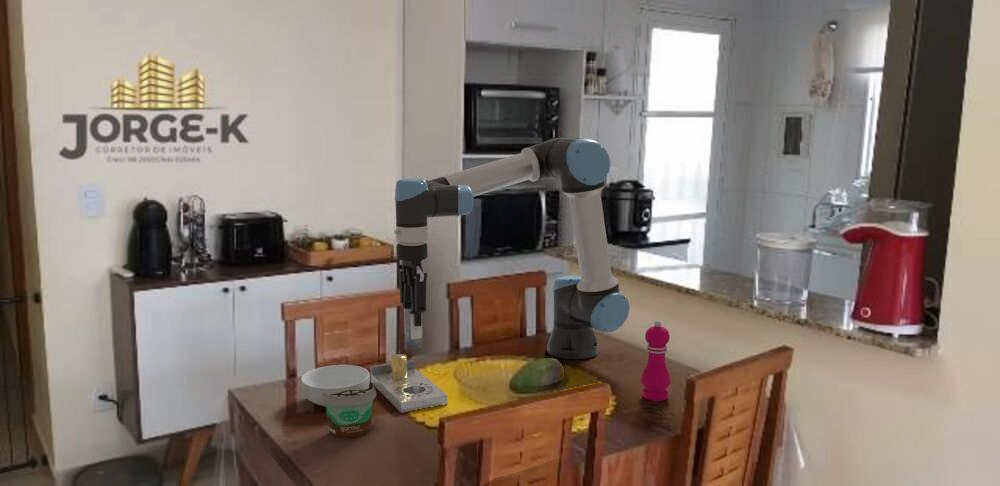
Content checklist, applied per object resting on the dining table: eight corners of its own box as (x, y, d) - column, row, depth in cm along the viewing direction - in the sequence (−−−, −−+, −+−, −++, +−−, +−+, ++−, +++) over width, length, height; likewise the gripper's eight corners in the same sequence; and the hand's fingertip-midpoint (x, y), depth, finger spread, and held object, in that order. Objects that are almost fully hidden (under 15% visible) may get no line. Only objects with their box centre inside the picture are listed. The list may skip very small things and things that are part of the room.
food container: (328, 444, 174) (326, 400, 172) (322, 433, 179) (321, 391, 178) (383, 435, 179) (382, 392, 177) (376, 425, 184) (375, 383, 183)
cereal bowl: (298, 395, 203) (297, 368, 202) (363, 387, 209) (362, 361, 208) (306, 419, 188) (305, 390, 187) (376, 410, 193) (375, 382, 192)
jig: (413, 375, 218) (412, 347, 216) (447, 404, 197) (447, 373, 195) (370, 382, 213) (369, 353, 211) (401, 412, 191) (400, 381, 190)
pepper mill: (651, 389, 207) (654, 315, 203) (675, 396, 202) (678, 320, 198) (635, 396, 202) (637, 320, 198) (659, 404, 197) (661, 326, 193)
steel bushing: (417, 344, 201) (417, 306, 199) (423, 348, 197) (423, 309, 195) (402, 346, 199) (402, 307, 197) (408, 351, 195) (407, 311, 194)
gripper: (385, 238, 199) (387, 329, 203) (409, 249, 184) (411, 347, 188) (414, 236, 202) (415, 325, 206) (439, 247, 188) (440, 342, 192)
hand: (413, 335), depth 197 cm, fingers closed on steel bushing, 4 cm apart
